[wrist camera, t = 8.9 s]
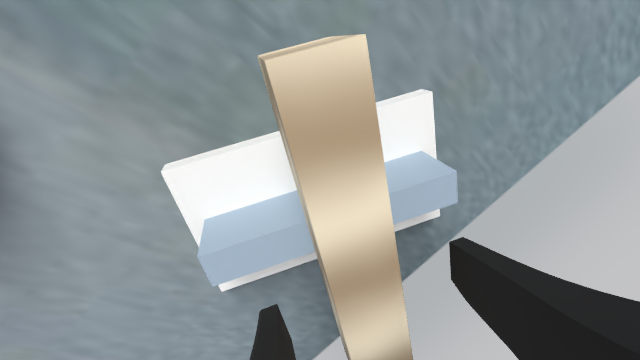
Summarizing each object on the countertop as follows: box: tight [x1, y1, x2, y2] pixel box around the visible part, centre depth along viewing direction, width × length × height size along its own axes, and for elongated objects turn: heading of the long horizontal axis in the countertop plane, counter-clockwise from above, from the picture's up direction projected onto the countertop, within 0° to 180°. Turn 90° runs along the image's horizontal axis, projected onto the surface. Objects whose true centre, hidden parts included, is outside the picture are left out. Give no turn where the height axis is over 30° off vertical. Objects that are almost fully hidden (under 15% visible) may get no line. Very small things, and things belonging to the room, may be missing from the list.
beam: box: [257, 34, 413, 360], centre depth 14 cm, size 18×3×4 cm, turn 13°
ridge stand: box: [161, 89, 458, 292], centre depth 18 cm, size 9×16×5 cm, turn 103°
